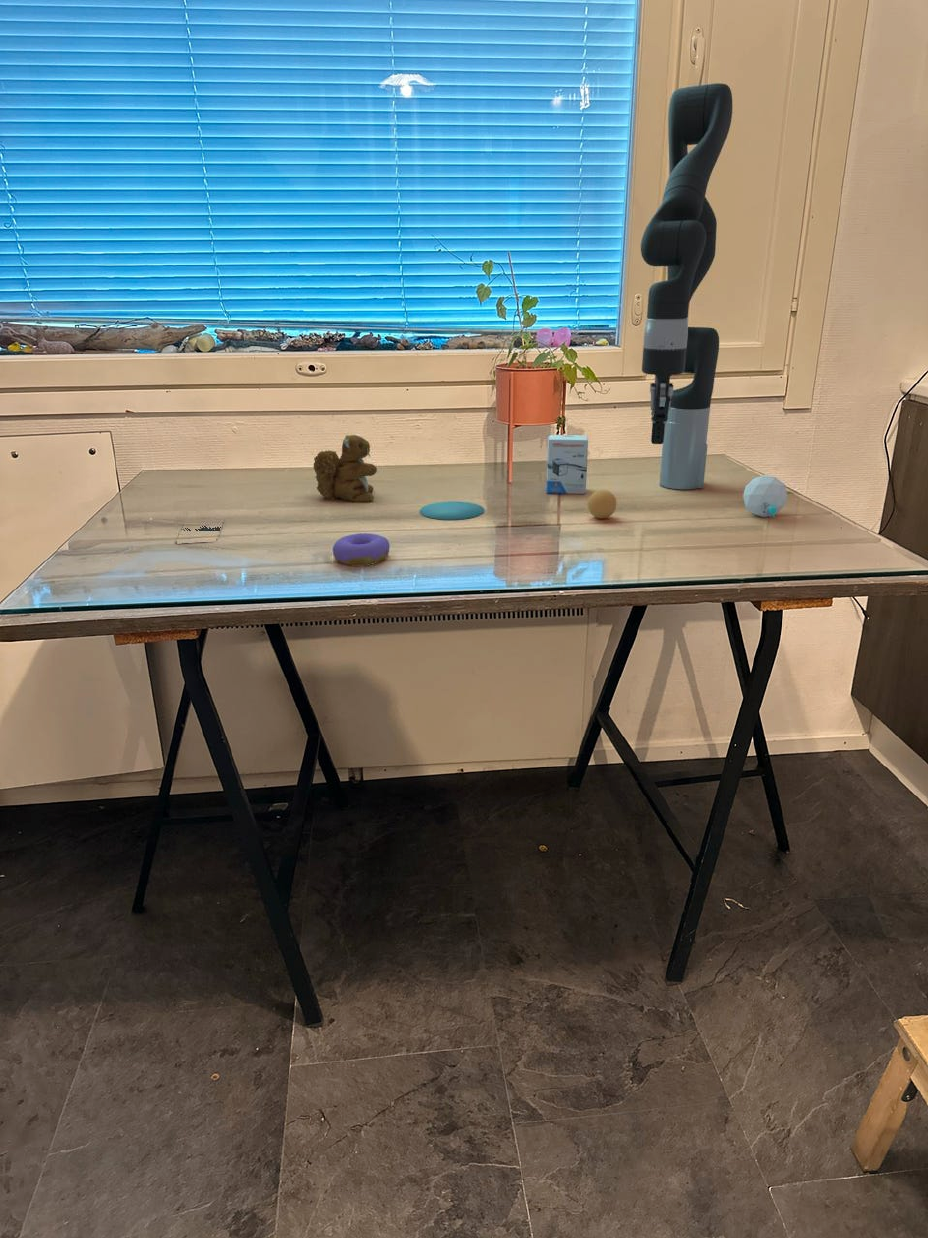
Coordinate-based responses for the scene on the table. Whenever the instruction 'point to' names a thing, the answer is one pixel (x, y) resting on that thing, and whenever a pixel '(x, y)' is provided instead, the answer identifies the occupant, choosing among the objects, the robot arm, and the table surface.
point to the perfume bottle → (765, 496)
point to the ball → (602, 504)
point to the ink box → (567, 464)
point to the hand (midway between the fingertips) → (657, 443)
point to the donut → (361, 549)
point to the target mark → (452, 510)
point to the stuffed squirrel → (345, 471)
